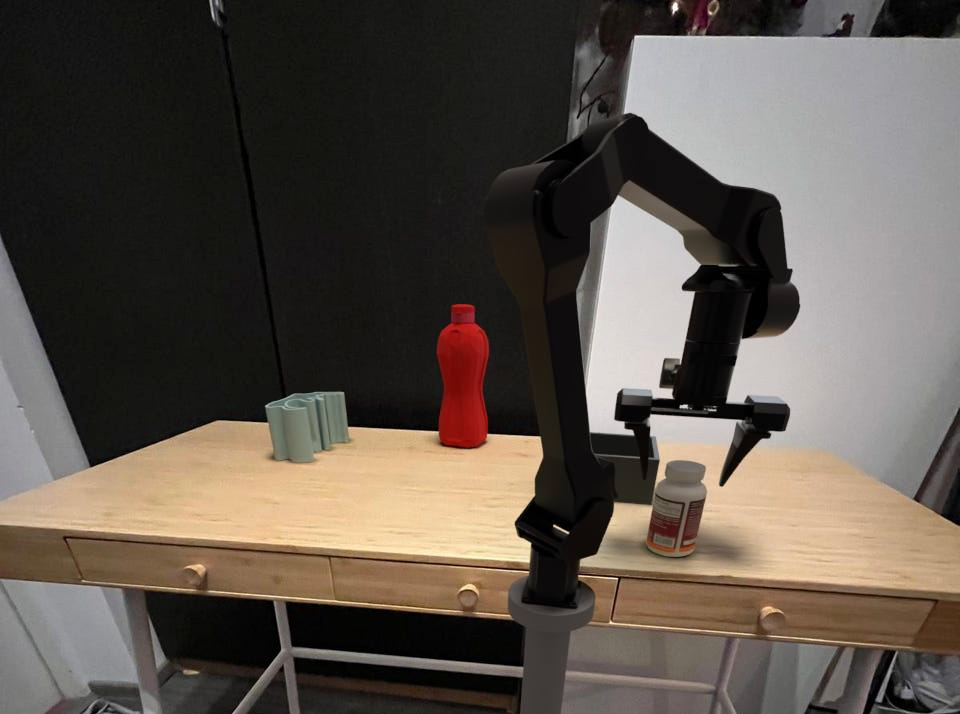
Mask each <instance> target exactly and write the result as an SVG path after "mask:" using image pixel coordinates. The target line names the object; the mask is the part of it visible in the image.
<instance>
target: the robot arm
mask: <svg viewBox="0 0 960 714" xmlns="http://www.w3.org/2000/svg"><path fill="white" fill-rule="evenodd" d="M618 196H619V197H620V198H622V199H623V200H626V202H629V203H630V204H632V205H634V206H635V207H637V208H639V209H640V210H642V211H644V212H646V213H647V214H649V215H651V216H653V218H656V219H657V220H659V221H661V222H662V223H664V224H665V225H667V226H669V227H671V228H672V229H674V230H676V231H677V232H678V233H679V234H680V235H681V236H682V241H683V242H682V243H683V246H684V249H685V250H686V251H687V252H688V253H689V254H690V256H691V257H692V258H693V259H694V260H695V261H697V263H698V264H700V265H699V267H698V268H697V270H696V271H695V272H694V273H692V275H691V276H689V277H688V278H687V279H686V280H685V281H684V282H683V283H682V285H681V291H682V292H688V293H689V292H690V293H694V294H693V299H692V303H691V310H690V315H689V320H688V324H687V329H686V336H685V339H684V345H683V350H682V354H681V355H682V356H681V359H680V358H673V357H664V359H663V361H662V366H661V372H660V377H659V383H658V388H659V389H666V390H671V391H672V392H671V397H672V398H669V397H667V398H666V397H654V396H653V391H652V389H646V388H629V387H622V388H621V389H620V390H619V391H618V392H617V393H616V400H615V406H614V417H613V420H614V421H615V422H620V423H621V422H622V423H623V429H625V430H628V431H632V432H633V435H634V436H635V439H636V443H637V446H638V450H639V456H640V464H641V472H642V479H643V480H646V477H647V473H648V462H649V445H650V436H651V427H652V426H651V421H650V420H651V419H650V418H651V415H653V416H668V417H685V418H700V419H701V418H702V419H714V420H715V419H716V420H717V419H719V420H732V421H733V420H734V421H735V427H734V432H733V437H732V441H731V443H730V446H729V449H728V452H727V454H726V457H725V460H724V463H723V465H722V469H721V472H720V476H719V479H718V480H719V481H718V486H719V487H720V488H723V487H724V486H725V485H726V484H727V482H728V481H729V480H730V478H731V476H732V475H733V473H734V472H735V471H736V469H737V468H738V467H739V466H740V464H741V463H742V462H743V461H744V459H745V458H746V457H747V455H749V453H750V452H751V451H752V450H753V449H754V448H755V447H756V446H757V444H759V442H760V441H762V440H770V439H771V437H772V432H776V433H777V432H778V433H783V432H786V430H787V427H788V423H789V421H790V417H791V407H790V406H789V405H788V403H787V402H786V401H784V400H783V399H782V398H781V397H779V396H775V395H759V394H758V395H757V394H756V395H755V394H747V395H746V397H745V399H744V401H743V402H740V401H728V396H729V391H730V387H731V383H732V380H733V376H734V371H735V367H736V364H737V361H738V356H739V355H738V354H739V351H740V346H741V342H742V340H750V339H751V340H752V339H765V338H766V339H767V338H768V339H769V338H775V337H779V336H781V335H783V334H784V333H785V332H787V331H788V330H790V328H791V327H792V326H793V325H794V323H795V321H796V320H797V318H798V316H799V313H800V309H801V303H800V302H801V301H800V293H799V290H798V288H797V287H796V285H795V284H794V283H793V282H792V281H791V280H792V275H793V271H794V270H793V268H790V267H789V268H788V258H787V249H786V248H787V247H786V238H785V230H784V229H785V228H784V220H783V219H784V218H783V214H782V211H781V210H782V205H781V202H780V200H779V199H778V197H777V196H776V195H775V194H773V193H772V192H771V193H770V192H769V191H765V190H762V189H759V188H755V187H748V186H739V185H731V184H728V183H724V182H722V181H721V180H719V179H718V178H716V177H715V176H714V175H713V174H711V173H710V172H709V171H707V170H706V169H705V168H703V167H702V166H700V165H699V164H698V163H696V162H695V161H693V160H692V159H690V158H689V157H688V156H687V155H686V154H684V153H683V152H681V151H680V150H678V149H677V148H676V147H675V146H673V145H672V144H670V143H669V142H668V141H666V140H665V139H663V137H660V136H659V135H658V134H657V133H655V132H654V131H653V130H651V129H650V128H649V124H648V123H647V121H646V119H644V117H642V116H639V115H638V114H636V113H633V112H627V113H623V114H618V115H615V116H611V117H607V118H603V119H599V120H595V121H592V122H591V123H590V124H589V125H588V126H587V127H586V128H584V129H583V130H581V132H579V133H578V134H577V135H575V137H573V138H572V139H570V140H569V141H567V142H566V143H564V144H562V145H560V146H559V147H557V148H556V149H554V150H552V151H551V152H549V153H547V154H545V155H544V156H542V157H541V158H538V159H537V160H535V161H534V162H532V163H531V164H528V165H523V166H518V167H513V168H508V169H506V170H504V171H502V172H501V173H500V174H498V175H497V177H496V178H495V180H494V181H493V183H492V184H491V186H490V188H489V191H488V193H487V195H486V197H485V199H484V202H483V223H484V227H485V232H486V235H487V238H488V242H489V245H490V248H491V251H492V254H493V258H494V261H495V263H496V267H497V269H498V271H499V273H500V274H501V277H502V278H503V279H504V281H505V283H506V284H507V286H508V288H509V289H510V291H511V292H512V294H513V296H514V298H515V299H516V301H517V304H518V306H519V310H520V311H519V312H520V316H521V323H522V329H523V336H524V342H525V348H526V354H527V361H528V369H529V374H530V379H531V387H532V392H533V399H534V405H535V412H536V417H537V423H538V430H539V431H538V432H539V436H540V443H541V448H542V449H541V450H542V459H541V461H540V463H539V466H538V468H537V471H536V473H535V477H534V495H533V497H532V498H531V500H530V501H529V502H528V503H527V505H526V506H525V507H524V509H523V510H522V511H521V513H520V514H519V515H518V516H517V518H516V519H515V520H514V527H515V531H516V535H517V537H518V538H520V539H523V540H525V541H526V542H528V543H530V553H529V567H528V575H527V576H528V578H527V581H526V584H525V588H524V591H523V594H522V597H521V602H522V603H525V604H533V605H541V606H550V607H558V608H567V609H577V608H578V603H579V596H580V590H581V581H582V580H581V581H579V580H580V579H579V576H580V567H581V560H583V559H587V558H591V557H594V556H596V555H598V552H599V550H600V548H601V545H602V542H603V540H604V537H605V535H606V533H607V530H608V527H609V525H610V523H611V521H612V518H613V516H614V512H615V501H614V498H615V499H617V498H618V494H617V492H616V488H615V467H614V464H613V462H611V461H608V460H605V459H603V458H600V457H597V456H595V454H594V453H593V451H592V447H591V438H590V432H591V429H590V419H589V408H588V399H587V398H588V397H587V388H586V376H585V368H584V367H585V366H584V357H583V346H582V336H581V326H580V317H579V316H580V315H579V305H578V287H579V285H580V282H581V279H582V276H583V273H584V271H585V268H586V264H587V263H588V259H589V256H590V254H591V242H592V241H591V238H592V223H593V221H595V220H596V219H598V217H600V216H602V214H604V213H605V212H606V211H607V210H608V209H609V208H611V207H612V206H613V205H614V203H615V201H616V200H617V198H618ZM681 406H687V407H681Z"/></svg>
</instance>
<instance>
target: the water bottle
mask: <svg viewBox="0 0 960 714" xmlns="http://www.w3.org/2000/svg"><path fill="white" fill-rule="evenodd" d="M450 308H451V311H450V313H451V314H450V315H451V317H450V318H451V321H450V322H451V323H450V324H448V325H447V326H445V328H444V329H442V330H441V331H440V334H439V336H438V338H437V347H436V355H437V356H436V357H437V359H438V360H437V361H438V363H439V368H440V373H441V377H442V382H443V396H442V401H441V405H440V406H441V407H440V412H439V418H438V438H439V441H440V442H441V443H442V444H443V445H445V446H450V447H451V446H452V447H459V448H460V447H461V448H466V449H468V448H477V447H478V446H479V445H481V444H482V443H484V442H486V440H487V437H488V435H489V434H488V433H489V429H488V427H489V421H488V420H489V419H488V414H487V410H486V404H485V398H484V394H483V385H484V378H485V373H486V368H487V364H488V360H489V356H490V348H489V347H490V346H489V345H490V344H489V339H488V337H487V335H486V332H485V330H484V329H482V328H481V327H480V326H479V325H478V324H476V323H475V322H476V321H475V312H476V311H475V309H476V308H475V306H474V305H472V304H462V303H461V304H460V303H457V304H453V305H451V307H450Z"/></svg>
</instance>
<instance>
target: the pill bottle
mask: <svg viewBox="0 0 960 714" xmlns="http://www.w3.org/2000/svg"><path fill="white" fill-rule="evenodd" d="M706 470H707V467H706V465H704V464H703V463H700V462H698V461H694V460H693V461H692V460H687V459H685V460H683V459H676V460H671V461H668V462H666V464H665V468H664V476H665V478H663V479H661V480H660V481H659V482H658V483H656V485H655V490H654V495H653V501H652V507H651V512H650V513H651V514H650V519H649V524H648V530H647V536H646V547H647V548H648V549H649V550H650V551H651V552H653V553H655V554H656V555H660V556H663V557H669V558H670V557H671V558H672V557H673V558H679V557H684V556H688V555H691V554H692V553H693V552H694V551H695V548H696V543H697V539H698V535H699V529H700V527H701V526H700V525H701V522H702V516H703V512H704V509H705V505H706V504H705V503H706V499H707V494H708V489H707V485H705V483H703V482H702V481H703V480H704V479H705V474H706Z"/></svg>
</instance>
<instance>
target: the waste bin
mask: <svg viewBox="0 0 960 714" xmlns="http://www.w3.org/2000/svg"><path fill="white" fill-rule="evenodd" d="M590 438H591V447H592V451H593V453H594V454H595V456H597V457H600V458H603V459H605V460H608V461H611V462H613V464H614V467H615V488H616V492H617V494H618V498H617V499H615V498H614V502H616V503H617V502H618V503H629V504H641V505H653V500H654V495H655V490H656V484H657V483H656V482H657V477H658V471H659V467H660V461H661V459H660V458H661V457H660V452H659V447H658V441H657V436H656V435H650V445H649V462H648V473H647V477H646V480H643V479H642V472H641V464H640V456H639V450H638V446H637V443H636V439H635V436H634V434H625V433H611V432H610V433H609V432H595V431H590Z"/></svg>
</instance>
